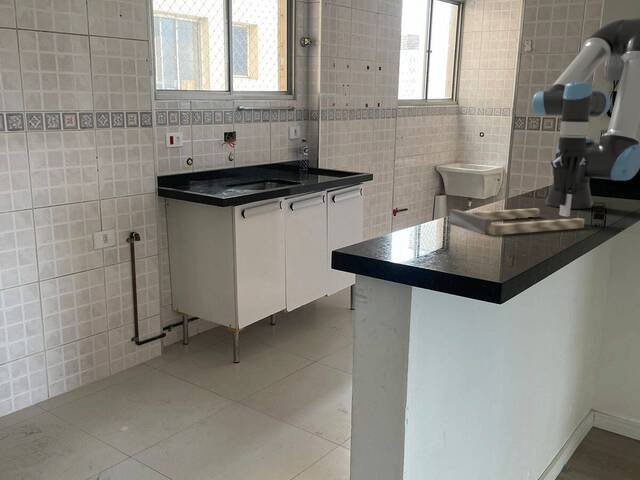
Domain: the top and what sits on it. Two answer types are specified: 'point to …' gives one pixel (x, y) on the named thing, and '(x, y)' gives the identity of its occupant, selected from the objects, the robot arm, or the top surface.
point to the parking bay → (483, 223)
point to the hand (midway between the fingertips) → (564, 215)
